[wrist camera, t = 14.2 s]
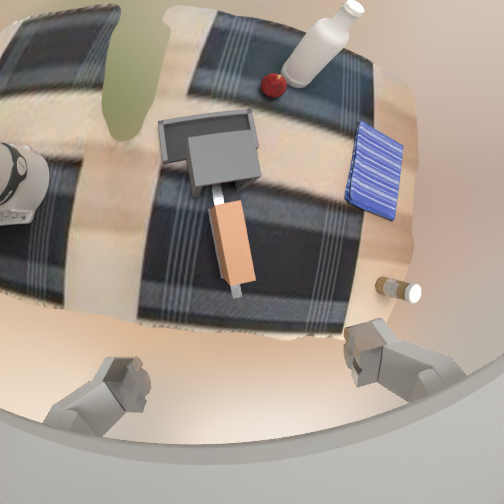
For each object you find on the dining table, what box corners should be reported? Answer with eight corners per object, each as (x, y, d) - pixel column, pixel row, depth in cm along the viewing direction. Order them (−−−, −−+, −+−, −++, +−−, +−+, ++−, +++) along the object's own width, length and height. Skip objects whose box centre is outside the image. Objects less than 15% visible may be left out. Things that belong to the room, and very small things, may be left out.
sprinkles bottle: (389, 279, 68) (424, 287, 55) (383, 295, 68) (418, 305, 55) (378, 274, 67) (413, 281, 54) (372, 290, 67) (407, 301, 54)
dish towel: (341, 202, 64) (347, 201, 61) (355, 120, 64) (361, 117, 61) (391, 223, 68) (397, 222, 65) (400, 146, 68) (407, 144, 65)
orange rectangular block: (221, 278, 57) (228, 287, 47) (207, 209, 55) (212, 204, 46) (245, 272, 58) (257, 280, 48) (232, 204, 57) (242, 198, 47)
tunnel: (192, 198, 55) (195, 186, 40) (186, 161, 54) (187, 137, 39) (241, 190, 57) (261, 175, 42) (235, 154, 56) (252, 129, 41)
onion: (282, 103, 58) (294, 88, 50) (258, 102, 57) (268, 86, 49) (278, 83, 57) (290, 67, 50) (255, 82, 56) (265, 65, 48)
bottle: (298, 94, 59) (366, 26, 30) (273, 75, 57) (329, -3, 28) (314, 78, 59) (380, 14, 30) (290, 59, 58) (346, -13, 29)
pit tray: (163, 163, 53) (162, 160, 50) (158, 125, 52) (158, 121, 50) (256, 149, 57) (259, 146, 55) (248, 113, 56) (251, 109, 54)
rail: (232, 298, 58) (233, 298, 58) (206, 158, 55) (206, 158, 55) (242, 296, 59) (242, 296, 58) (215, 157, 55) (215, 156, 55)
